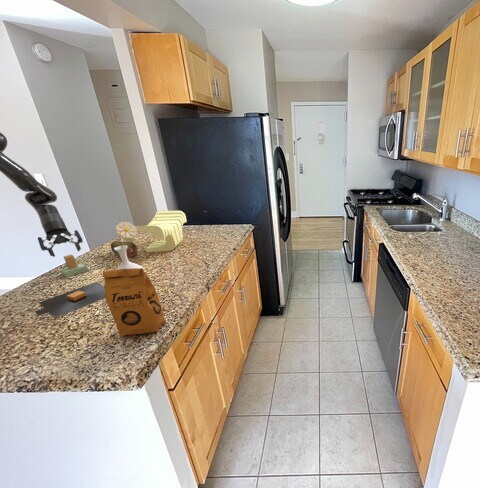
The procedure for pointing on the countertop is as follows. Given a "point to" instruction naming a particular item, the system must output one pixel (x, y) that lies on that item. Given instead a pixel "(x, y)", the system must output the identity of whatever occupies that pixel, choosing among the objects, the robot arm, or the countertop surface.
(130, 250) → the multicolored arch
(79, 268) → the scrub brush
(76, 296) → the orange flat rounded piece
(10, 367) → the countertop surface
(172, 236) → the slatted curved stool
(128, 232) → the flower in vase
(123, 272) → the coffee package
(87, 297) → the griddle pan
